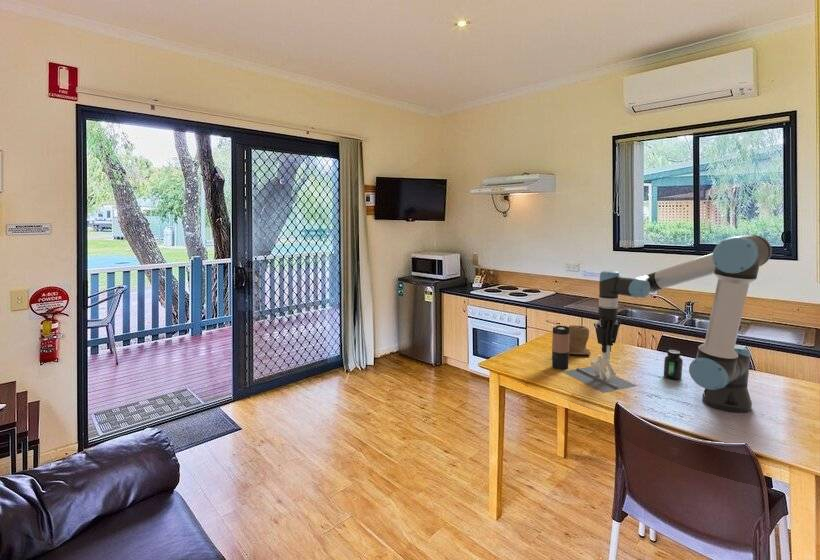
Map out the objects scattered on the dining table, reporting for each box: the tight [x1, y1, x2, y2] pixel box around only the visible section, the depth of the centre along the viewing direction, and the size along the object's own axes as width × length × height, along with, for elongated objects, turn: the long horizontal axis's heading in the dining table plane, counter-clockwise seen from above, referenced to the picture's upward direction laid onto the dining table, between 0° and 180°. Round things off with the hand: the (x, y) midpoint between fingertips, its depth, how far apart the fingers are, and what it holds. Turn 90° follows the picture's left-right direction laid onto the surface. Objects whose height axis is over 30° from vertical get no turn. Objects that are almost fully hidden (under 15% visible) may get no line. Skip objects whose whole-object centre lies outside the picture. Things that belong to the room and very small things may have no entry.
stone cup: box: [568, 324, 592, 356], centre depth 225 cm, size 15×12×15 cm
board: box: [561, 365, 638, 394], centre depth 190 cm, size 26×18×1 cm
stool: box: [589, 354, 617, 381], centre depth 188 cm, size 6×6×9 cm
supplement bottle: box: [663, 349, 684, 381], centre depth 189 cm, size 7×7×12 cm
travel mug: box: [551, 325, 570, 371], centre depth 204 cm, size 8×8×20 cm
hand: (606, 359), depth 188 cm, fingers closed
